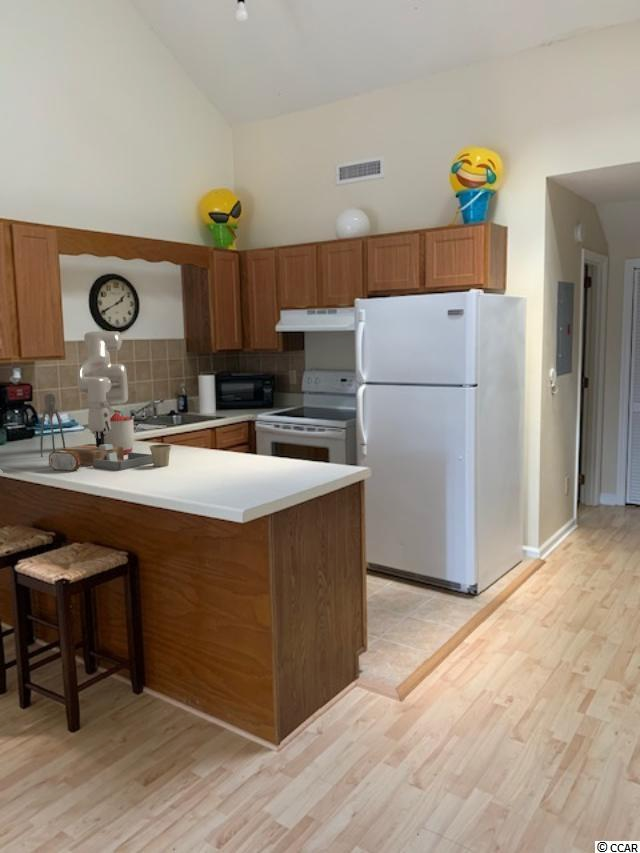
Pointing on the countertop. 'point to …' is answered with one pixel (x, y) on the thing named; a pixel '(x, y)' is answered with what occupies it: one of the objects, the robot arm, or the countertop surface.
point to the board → (94, 453)
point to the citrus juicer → (121, 432)
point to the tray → (125, 462)
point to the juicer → (50, 410)
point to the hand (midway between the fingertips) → (100, 446)
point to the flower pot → (160, 454)
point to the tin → (64, 460)
